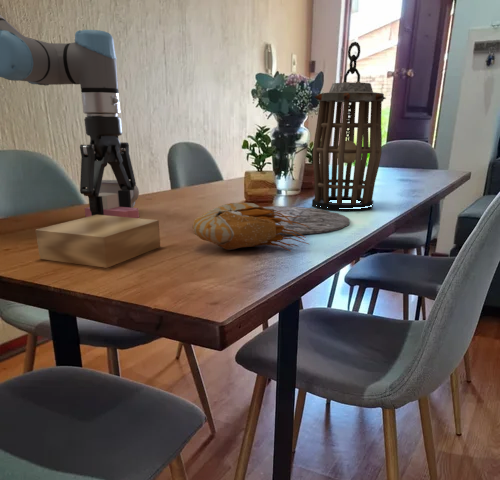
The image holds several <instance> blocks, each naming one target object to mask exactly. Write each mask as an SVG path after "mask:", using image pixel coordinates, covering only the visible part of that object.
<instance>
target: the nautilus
mask: <svg viewBox="0 0 500 480" xmlns="http://www.w3.org/2000/svg"><path fill="white" fill-rule="evenodd" d="M265 207H266V206H260V205H258V204H256V203H253V202H230V203H226V204H223V205H220V206H218V207H215V208H212V209H210V210H208V211H206V212H205V213H202V214H201V215H200V216H197V217H196V218H195V219H193V224H192V229H193V232H194V233H193V234H194V235H195V236H196V237H198V238H199V239H201V240H202V241H204V242H205V241H206V242H209V243H212V244H215V245H216V246H219V247H220V248H223V249H224V250H227V251H232V250H236V249H237V250H238V249H240V248H249V247H253V248H254V247H259V246H273V247H275V246H276V247H280V248H282V249H284V250H286V251H289V252H291V250H290V249H289V248H287V247H286V246H289V247H292V248H294V246H295V247H298V244H294V243H286V242H284V241H283V240H293V241H295V242H299V243H302V244H306V245H310V244H311V243H308V242H305V241H306V240H305V239H307V238H306V236H305V235H301V234H299V233H297V232H295V231H293V230H289V229H285V228H284V226H283V225H281V224H280V223H278V222H282V221H283V222H288V223H290V224H291V225H293V224H292V223H297V222H293V221H290V220H289V219H288V218H287V217H292V216H284V215H283V214H281V213H278V212H280V211H277V212H274V211H276V210H274V209H271V208H265ZM287 211H289V210H287ZM276 213H277V214H281V215H282V216H280V215H277V214H276ZM275 216H280V217H285V218H286V219H288V220H289V221H285V220H282V218H275ZM297 217H301V216H297ZM293 218H295V217H293ZM291 222H292V223H291ZM276 223H278V224H280V225H281V226H279V225H276ZM297 224H301V223H297ZM301 225H304V224H301ZM304 226H306V225H304ZM307 227H308V226H307ZM308 228H309V227H308ZM282 230H286V231H293V232H295V233H297V234H299V235H294V234H292V233H288V232H283V231H282ZM280 232H281V233H286V234H292V235H291V236H289V237H288V236H282V235H280V234H278V233H280ZM276 234H278V235H276ZM292 236H294V237H295V238H292ZM302 237H303V238H302ZM296 238H298V239H296ZM304 238H305V239H304ZM299 239H300V240H299ZM302 240H303V241H302ZM278 243H280V244H282V245H280V244H278ZM284 245H285V246H284Z"/></svg>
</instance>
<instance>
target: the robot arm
mask: <svg viewBox="0 0 500 480" xmlns="http://www.w3.org/2000/svg"><path fill="white" fill-rule="evenodd" d="M74 33H75V34H74V42H67V43H62V42H61V43H58V42H56V43H55V42H54V43H53V42H46V41H42V40H38V39H34V38H31V37H28V36H25V35H23V34H22V33H21V32H20V31H18V30H17V29H16V28H15V26H13V25H12V24H11V23H9V22H8V21H7V20H6V19H5V17H3V16H2V15H1V14H0V78H2V79H5V80H8V81H12V82H13V81H15V82H17V81H18V82H19V81H20V82H27V83H28V84H31V85H39V86H44V87H46V86H50V85H51V86H52V85H53V86H55V85H57V86H59V85H60V86H61V85H80V93H81V102H82V113H83V114H85V115H86V116H85V117H84V128H85V135H86V136H89V143H88V144H80V145H79V150H80V157H81V158H80V159H81V161H80V183H79V192H80V194H81V195H83V196H84V197H87V198H88V204H89V206H88V207H90V211H91V214H92V216H93V215H104V211H103V202H102V196H99V192H100V187H101V182H102V180H103V177H104V173H105V168H106V167H107V166H108V165H109V166H110V168H111V170H112V173H113V175H114V177H115V180H117V182H118V184H119V187H120V189H121V190H118V197H119V207H129V208H131V195H130V190H134V186H137V183H136V177H135V173H134V169H133V164H132V160H131V155H130V143H129V142H123V141H122V142H121V141H120V138H119V137H120V136H122V135H123V125H122V118H121V117H119V116H118V115H120V114H121V106H120V105H121V104H120V95H119V83H118V81H119V80H118V71H117V70H118V67H117V56H116V49H115V48H116V47H115V41H114V37H113V35H112V34H111V33H109V32H108V31H105V30H98V29H81V30H77V31H76V32H74ZM129 180H130V181H129ZM93 189H94V190H93Z"/></svg>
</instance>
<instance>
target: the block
mask: <svg viewBox="0 0 500 480" xmlns="http://www.w3.org/2000/svg"><path fill="white" fill-rule="evenodd" d="M159 221H160V220H158V219H151V218H150V219H149V218H140V217H139V218H129V217H118V216H107V215H93V216H89V217H86V216H85V217H81V218H78V219H73V220H69V221H65V222H61V223H57V224H53V225H49V226H45V227H40V228H37V229H35V237H36V243H37V251H38V255H39V259H40V260H44V261H45V260H46V261H51V262H52V261H54V262H60V263H67V264H68V263H69V264H76V265H83V266H90V267H98V268H103V269H104V268H105V269H108V268H111V267H113V266H117V265H119V264H121V263H124V262H126V261H128V260H131V259H133V258H136V257H138V256H142V255H144V254H146V253H149V252H151V251H155V250H156V249H159V248H161V235H160V234H161V233H160V222H159Z"/></svg>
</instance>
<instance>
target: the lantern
mask: <svg viewBox="0 0 500 480" xmlns="http://www.w3.org/2000/svg"><path fill="white" fill-rule="evenodd" d="M353 47H356V48H357V49H356V50H357V53H356V55H355V54H352V55H351V53H352V52H351V51H352V48H353ZM360 55H361V45H360V44H359V42H357V41H353V42H351V43H350V45H348V48H347V57H348V59H349V68H348V69H347V70H346V72H345V74H344V75H343V77H344V78H343V82H334V83H332V84H331V86H330V88H329V91H328V92H321V93H317V95H315V96H314V98H315V99H316V100H317V102H319V104H318V105H319V106H318V112H317V119H316V128H315V132H314V139H313V141H314V142H313V147H312V163H313V164H312V167H313V179H314V198H312V199H311V207H313V208H314V209H321V210H326V211H330V212H346V213H347V212H365V211H370V209H371V210H372V209H373V207H374V200H373V197H374V192H375V191H374V190H375V184H376V180H377V175H378V172H379V168H380V163H381V159H382V152H383V151H382V149H383V148H382V143H383V141H382V140H383V134H382V132H383V131H382V109H383V108H382V104H383V102H384V100H387V97H386V96H385V94H384V93H383V92H375V91H374V90H373V87H372V84H371V83H370V82H361V74H360V72H359V69H358V68H357V60H358V59H359V57H360ZM349 74H351V75H354V74H355V75H356V78H357V79H356V81H355V82H350V81H348V76H349ZM357 103H358V110H357V111H358V115H357V122H356V109H357ZM335 108H336V110H335ZM369 115H370V116H369ZM369 118H370V119H369ZM334 119H335V120H334ZM369 121H370V122H369ZM333 128H334V129H333ZM356 128H357V129H356ZM355 129H356V143H355ZM333 130H334V132H333ZM332 133H333V142H332V145H330V144H331V138H332ZM330 154H332V157H331V158H332V159H331V179H330ZM345 164H346V169H345V167H344V166H345ZM353 164H354V168H353V175H352V166H353ZM344 169H345V170H344ZM344 171H345V178H344ZM365 172H366V173H365ZM351 175H352V176H353V177H352V179H351ZM364 178H365V179H364ZM350 184H352V185H350ZM350 190H351V195H350ZM330 200H337V203H332V202H329V201H330ZM342 200H351V203H342ZM356 200H358V201H361V202H360V203H356ZM372 204H373V205H372ZM316 205H317V206H316ZM370 205H372V207H368V208H361V209H339V208H353V207H365V206H370ZM320 206H321V207H320ZM327 207H328V208H327Z"/></svg>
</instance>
